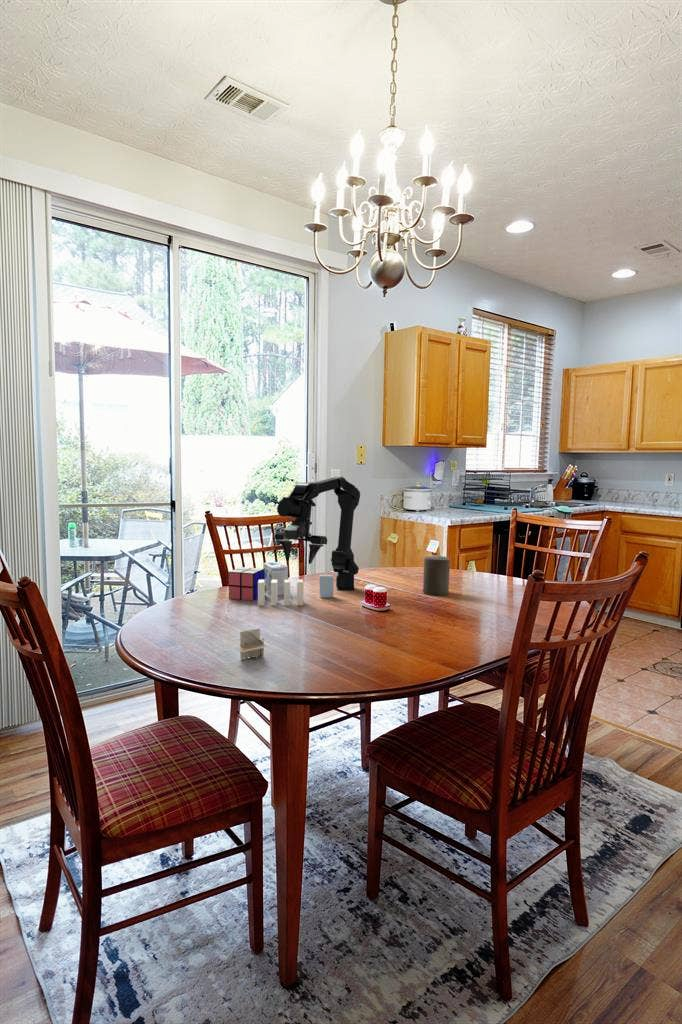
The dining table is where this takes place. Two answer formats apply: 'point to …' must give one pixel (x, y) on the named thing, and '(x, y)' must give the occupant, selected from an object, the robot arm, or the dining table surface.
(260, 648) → the architectural model
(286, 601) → the domino
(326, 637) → the dining table surface
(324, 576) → the domino
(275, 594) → the domino
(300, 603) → the domino
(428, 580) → the dark grey cylinder
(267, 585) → the light bulb box
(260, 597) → the domino
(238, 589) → the puzzle cube
